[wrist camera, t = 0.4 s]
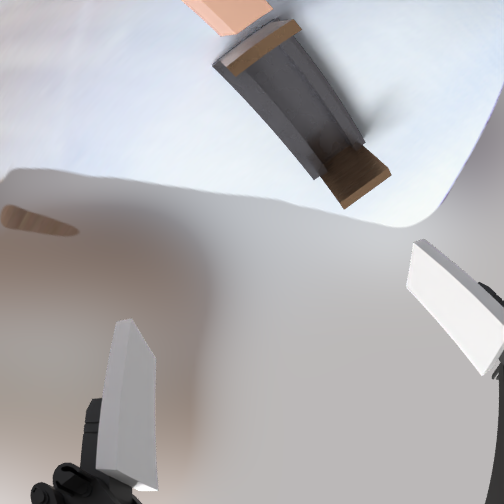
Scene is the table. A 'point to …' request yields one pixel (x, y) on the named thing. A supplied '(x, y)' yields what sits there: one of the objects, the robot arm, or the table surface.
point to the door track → (302, 109)
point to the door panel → (229, 13)
